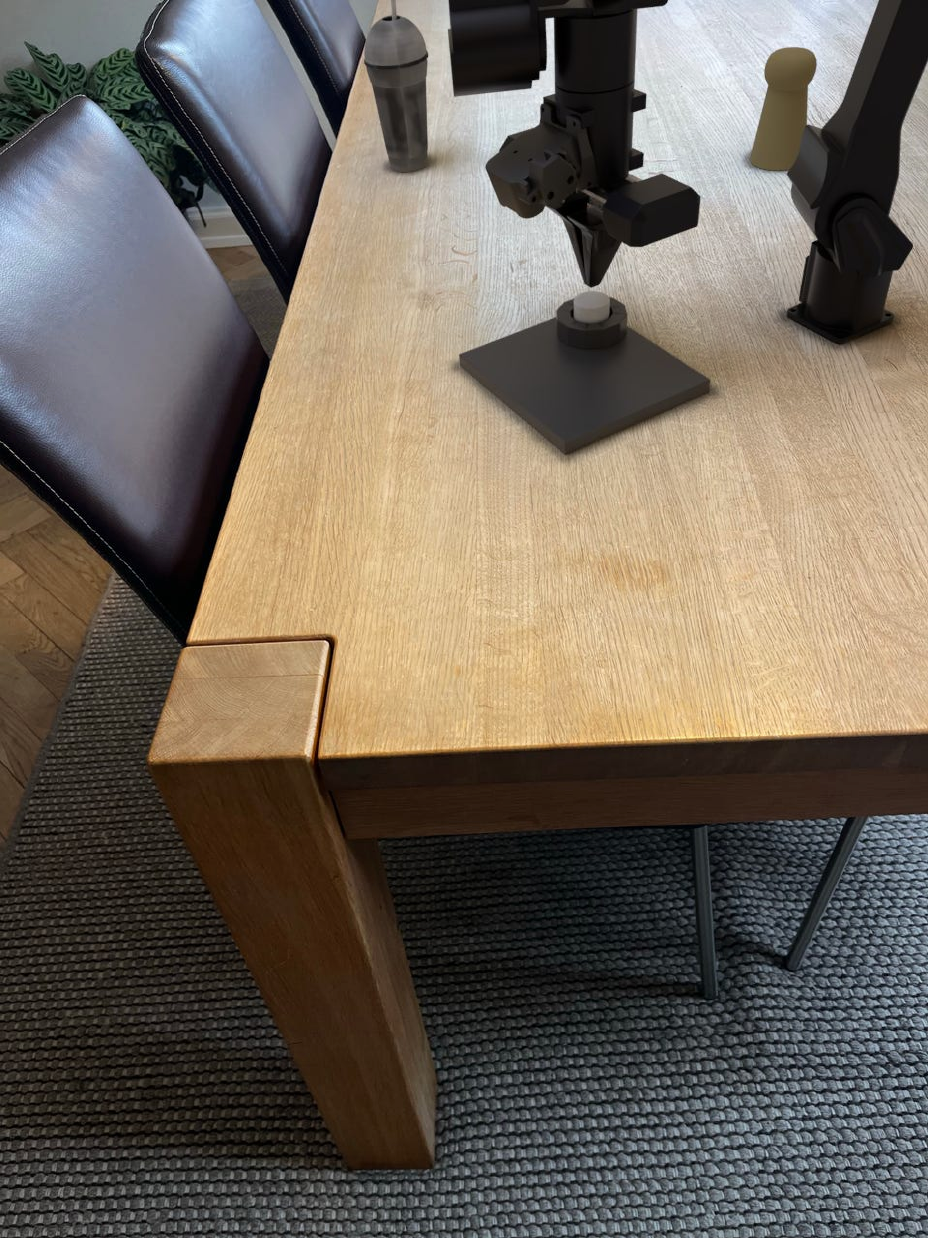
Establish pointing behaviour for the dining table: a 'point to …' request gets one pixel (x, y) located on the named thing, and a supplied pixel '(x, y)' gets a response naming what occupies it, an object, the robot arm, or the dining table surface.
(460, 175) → the dining table surface
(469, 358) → the scale
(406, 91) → the beverage cup
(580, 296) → the button
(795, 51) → the tan pawn
